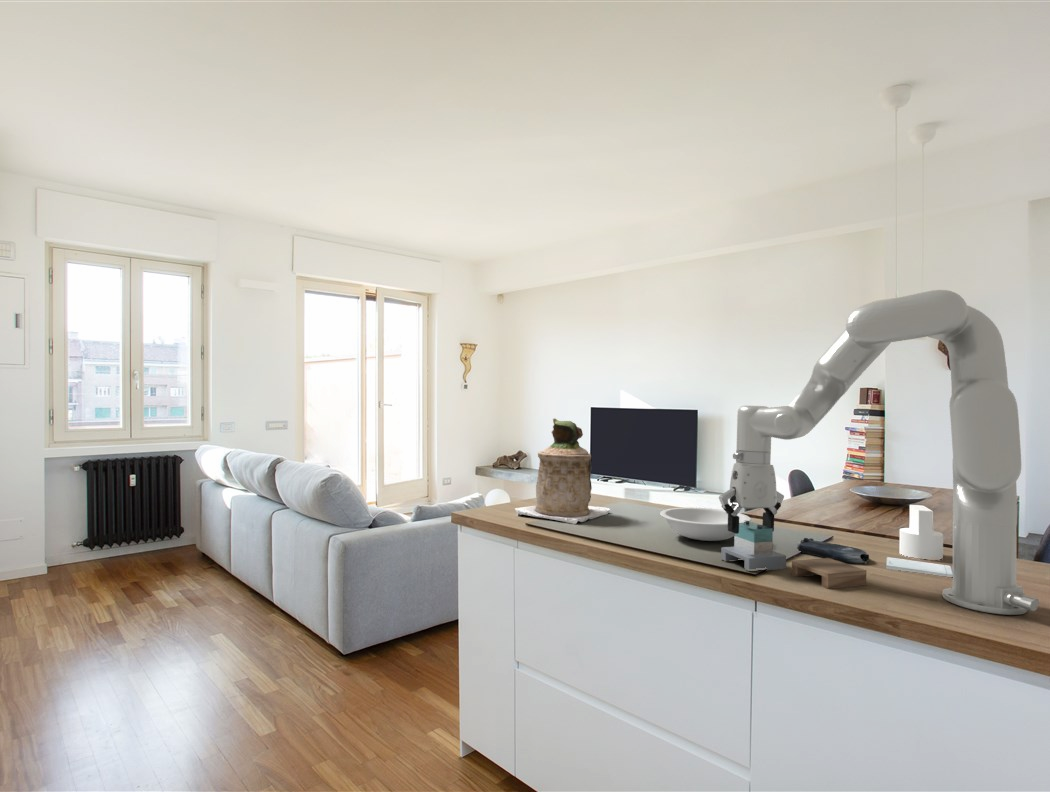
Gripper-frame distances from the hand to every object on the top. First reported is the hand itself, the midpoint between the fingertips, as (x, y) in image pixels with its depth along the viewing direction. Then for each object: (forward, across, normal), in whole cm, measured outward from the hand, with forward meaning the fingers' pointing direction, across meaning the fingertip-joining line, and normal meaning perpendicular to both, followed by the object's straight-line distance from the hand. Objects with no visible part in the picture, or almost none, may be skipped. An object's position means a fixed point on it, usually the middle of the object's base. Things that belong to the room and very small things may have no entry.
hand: (750, 531), depth 135 cm
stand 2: (+7, +8, -15) cm, 18 cm away
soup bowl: (+8, +4, +24) cm, 26 cm away
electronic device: (+8, +25, 0) cm, 26 cm away
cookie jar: (+9, -21, +66) cm, 70 cm away
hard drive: (+8, +35, -14) cm, 39 cm away
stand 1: (+8, 0, -1) cm, 8 cm away
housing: (+5, 0, 0) cm, 5 cm away
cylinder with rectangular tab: (+7, +47, -5) cm, 48 cm away
